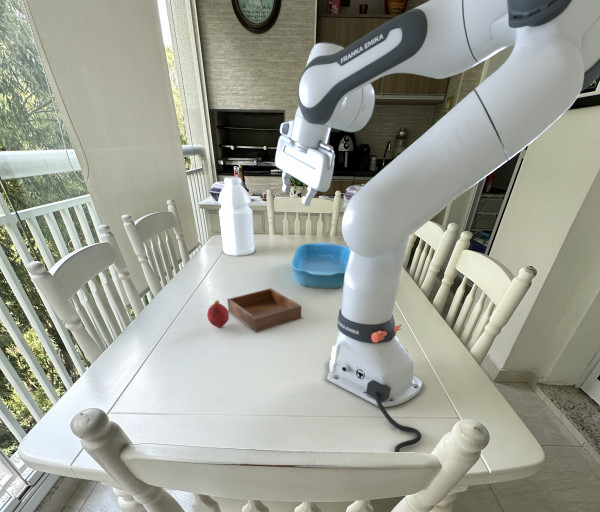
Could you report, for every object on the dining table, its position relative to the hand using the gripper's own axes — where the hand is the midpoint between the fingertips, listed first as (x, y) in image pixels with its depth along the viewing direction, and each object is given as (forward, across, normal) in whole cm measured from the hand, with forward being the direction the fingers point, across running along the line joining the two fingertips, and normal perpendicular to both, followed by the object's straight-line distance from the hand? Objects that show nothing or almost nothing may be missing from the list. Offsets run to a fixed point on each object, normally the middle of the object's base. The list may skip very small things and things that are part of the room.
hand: (295, 198), depth 93 cm
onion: (+34, -6, +20) cm, 40 cm away
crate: (+31, -5, +6) cm, 32 cm away
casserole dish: (+28, +12, -31) cm, 44 cm away
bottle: (+38, +55, -19) cm, 70 cm away
